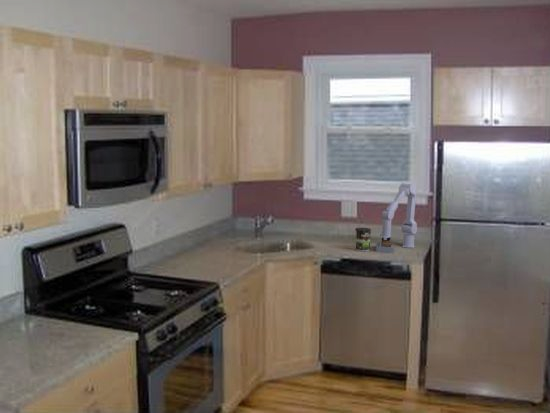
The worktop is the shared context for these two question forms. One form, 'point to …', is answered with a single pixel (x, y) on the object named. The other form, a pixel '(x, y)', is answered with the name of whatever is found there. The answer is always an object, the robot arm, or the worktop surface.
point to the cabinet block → (385, 243)
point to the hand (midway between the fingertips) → (385, 248)
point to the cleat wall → (383, 248)
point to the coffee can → (362, 239)
